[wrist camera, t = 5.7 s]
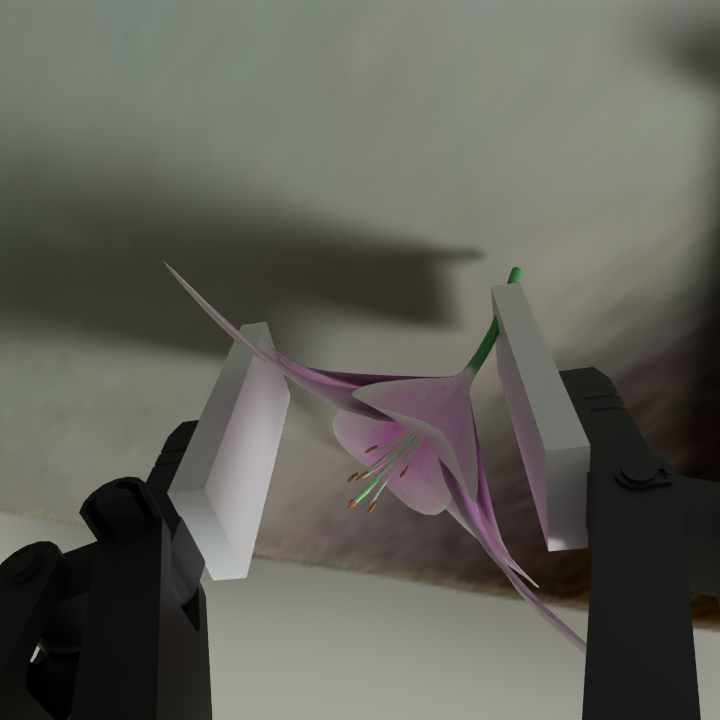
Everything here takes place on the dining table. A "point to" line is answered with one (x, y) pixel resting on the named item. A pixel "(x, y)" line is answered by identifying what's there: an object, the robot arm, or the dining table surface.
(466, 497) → the lily
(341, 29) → the dining table surface
